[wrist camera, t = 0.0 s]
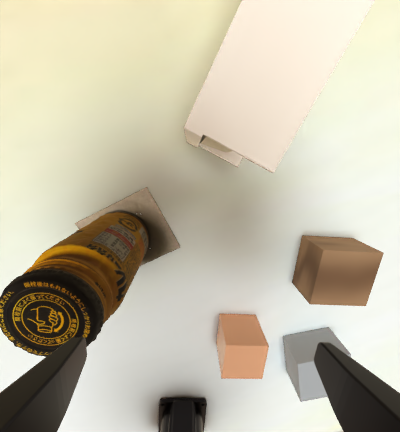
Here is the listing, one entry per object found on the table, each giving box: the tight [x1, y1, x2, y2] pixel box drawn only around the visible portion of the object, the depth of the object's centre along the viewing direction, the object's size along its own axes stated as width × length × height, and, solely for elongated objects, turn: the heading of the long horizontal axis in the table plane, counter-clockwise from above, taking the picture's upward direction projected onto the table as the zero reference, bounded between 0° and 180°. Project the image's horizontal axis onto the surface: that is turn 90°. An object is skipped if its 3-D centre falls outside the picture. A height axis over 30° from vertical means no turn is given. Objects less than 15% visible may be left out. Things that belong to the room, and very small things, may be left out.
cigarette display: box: [184, 0, 375, 173], centre depth 14 cm, size 20×6×9 cm, turn 153°
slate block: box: [283, 327, 351, 402], centre depth 26 cm, size 6×6×4 cm
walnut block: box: [292, 236, 383, 306], centre depth 22 cm, size 6×6×4 cm
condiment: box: [0, 187, 180, 357], centre depth 16 cm, size 7×8×12 cm
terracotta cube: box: [216, 314, 269, 379], centre depth 24 cm, size 4×4×4 cm
